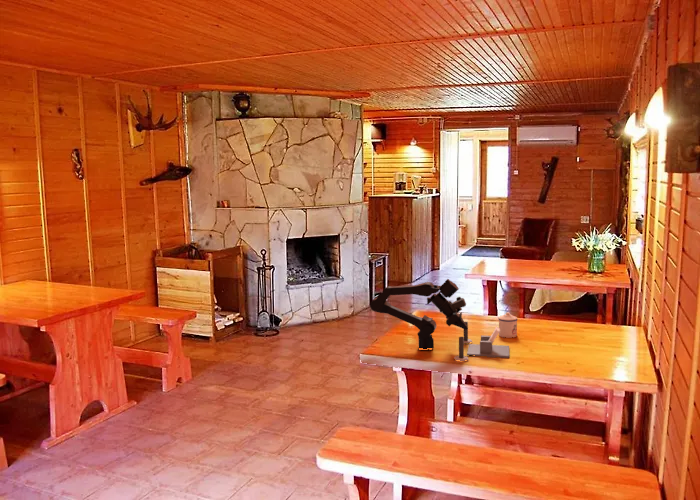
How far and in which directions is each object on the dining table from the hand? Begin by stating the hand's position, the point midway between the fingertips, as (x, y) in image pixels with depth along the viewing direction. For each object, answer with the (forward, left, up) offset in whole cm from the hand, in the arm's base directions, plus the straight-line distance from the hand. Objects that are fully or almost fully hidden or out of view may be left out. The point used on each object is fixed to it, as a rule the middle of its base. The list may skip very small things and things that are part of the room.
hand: (467, 329), depth 261 cm
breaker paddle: (+8, -1, -9) cm, 12 cm away
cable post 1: (-4, -13, -10) cm, 17 cm away
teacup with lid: (+23, +28, -10) cm, 37 cm away
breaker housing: (+8, -1, -10) cm, 13 cm away
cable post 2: (+1, +14, -10) cm, 17 cm away
